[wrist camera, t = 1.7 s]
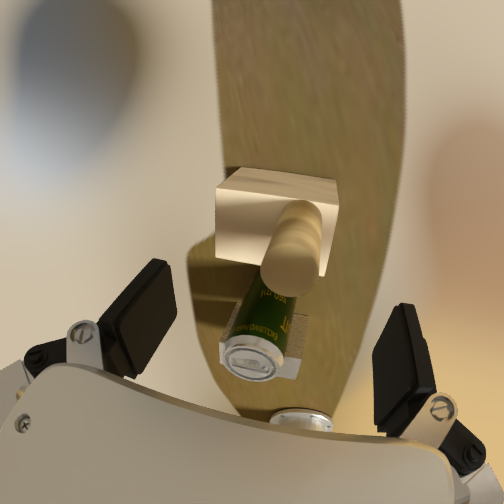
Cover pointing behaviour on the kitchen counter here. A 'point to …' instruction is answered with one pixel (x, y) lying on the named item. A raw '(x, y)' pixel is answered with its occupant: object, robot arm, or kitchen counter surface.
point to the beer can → (259, 333)
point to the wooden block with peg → (277, 226)
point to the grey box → (293, 345)
